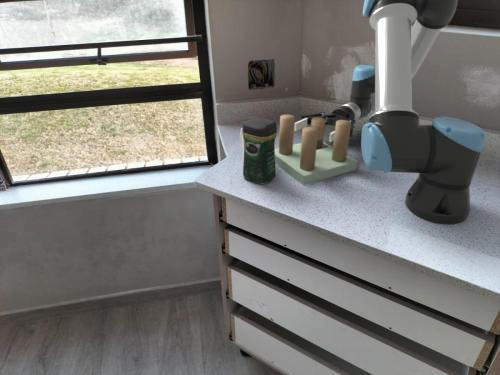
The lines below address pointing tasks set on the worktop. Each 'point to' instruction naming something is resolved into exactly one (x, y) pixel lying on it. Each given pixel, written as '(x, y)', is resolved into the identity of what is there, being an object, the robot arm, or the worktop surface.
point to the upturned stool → (313, 152)
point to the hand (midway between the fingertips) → (312, 132)
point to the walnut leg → (319, 130)
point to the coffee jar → (259, 149)
